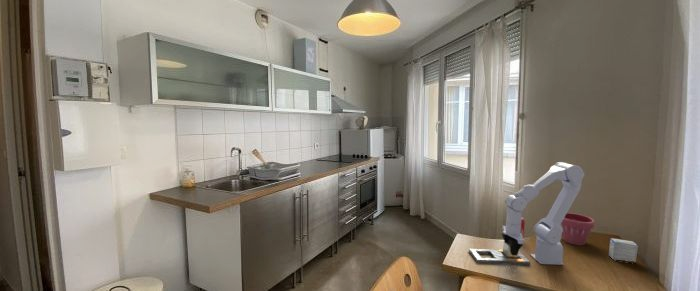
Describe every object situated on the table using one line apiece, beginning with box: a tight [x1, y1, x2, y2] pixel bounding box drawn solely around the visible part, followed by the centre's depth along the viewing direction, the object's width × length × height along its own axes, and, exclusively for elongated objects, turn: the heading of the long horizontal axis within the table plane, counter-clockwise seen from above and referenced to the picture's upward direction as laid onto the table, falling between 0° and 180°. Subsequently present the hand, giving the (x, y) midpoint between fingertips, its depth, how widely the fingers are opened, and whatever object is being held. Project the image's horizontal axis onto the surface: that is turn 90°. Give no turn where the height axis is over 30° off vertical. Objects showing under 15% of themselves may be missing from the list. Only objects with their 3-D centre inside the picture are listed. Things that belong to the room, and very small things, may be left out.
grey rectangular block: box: [502, 241, 518, 259], centre depth 125 cm, size 4×4×7 cm
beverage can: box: [520, 216, 526, 239], centre depth 144 cm, size 6×6×12 cm
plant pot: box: [561, 212, 595, 246], centre depth 143 cm, size 14×14×13 cm
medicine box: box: [608, 237, 639, 262], centre depth 125 cm, size 8×4×9 cm, turn 65°
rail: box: [468, 248, 531, 266], centre depth 125 cm, size 22×10×2 cm, turn 87°
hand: (511, 252), depth 125 cm, fingers closed on grey rectangular block, 4 cm apart
